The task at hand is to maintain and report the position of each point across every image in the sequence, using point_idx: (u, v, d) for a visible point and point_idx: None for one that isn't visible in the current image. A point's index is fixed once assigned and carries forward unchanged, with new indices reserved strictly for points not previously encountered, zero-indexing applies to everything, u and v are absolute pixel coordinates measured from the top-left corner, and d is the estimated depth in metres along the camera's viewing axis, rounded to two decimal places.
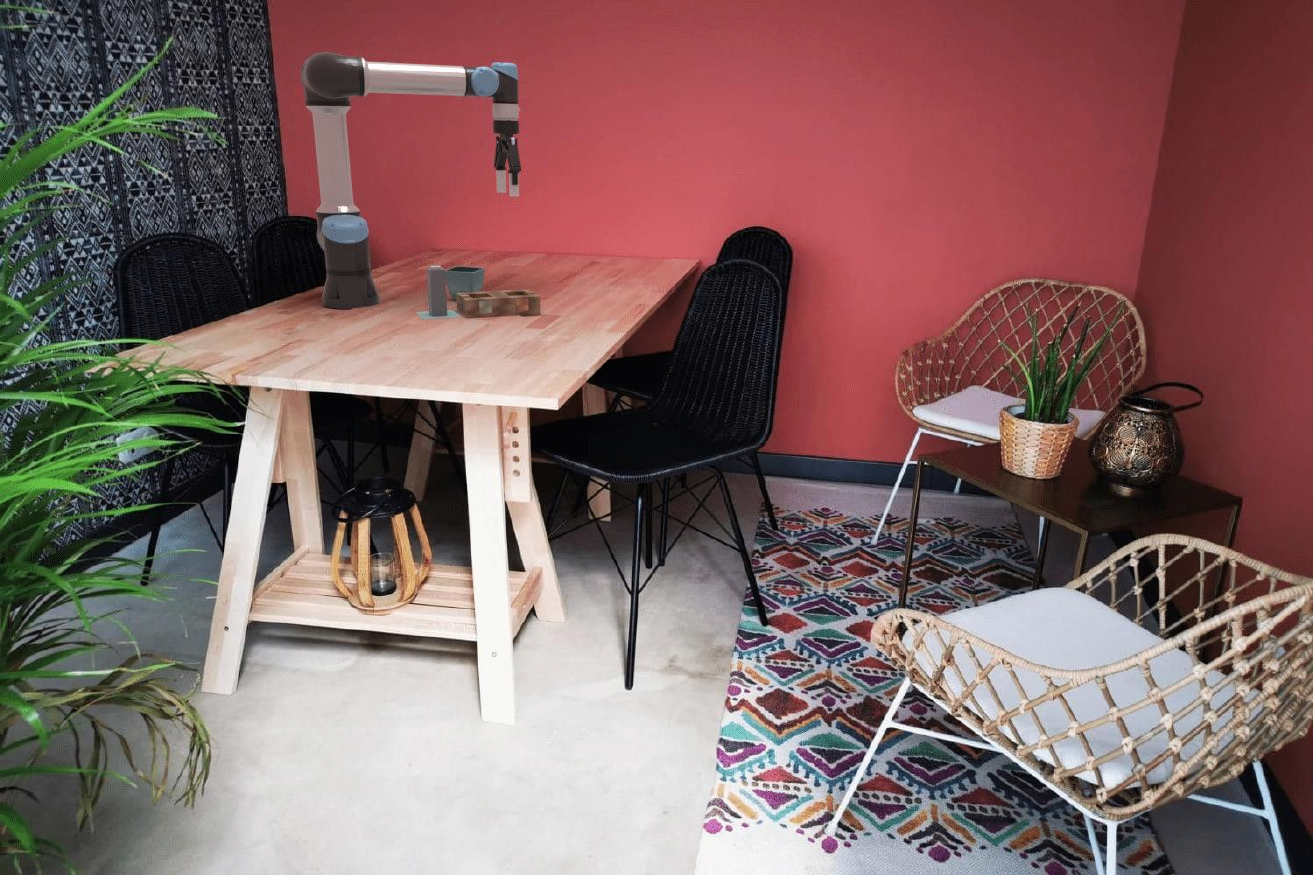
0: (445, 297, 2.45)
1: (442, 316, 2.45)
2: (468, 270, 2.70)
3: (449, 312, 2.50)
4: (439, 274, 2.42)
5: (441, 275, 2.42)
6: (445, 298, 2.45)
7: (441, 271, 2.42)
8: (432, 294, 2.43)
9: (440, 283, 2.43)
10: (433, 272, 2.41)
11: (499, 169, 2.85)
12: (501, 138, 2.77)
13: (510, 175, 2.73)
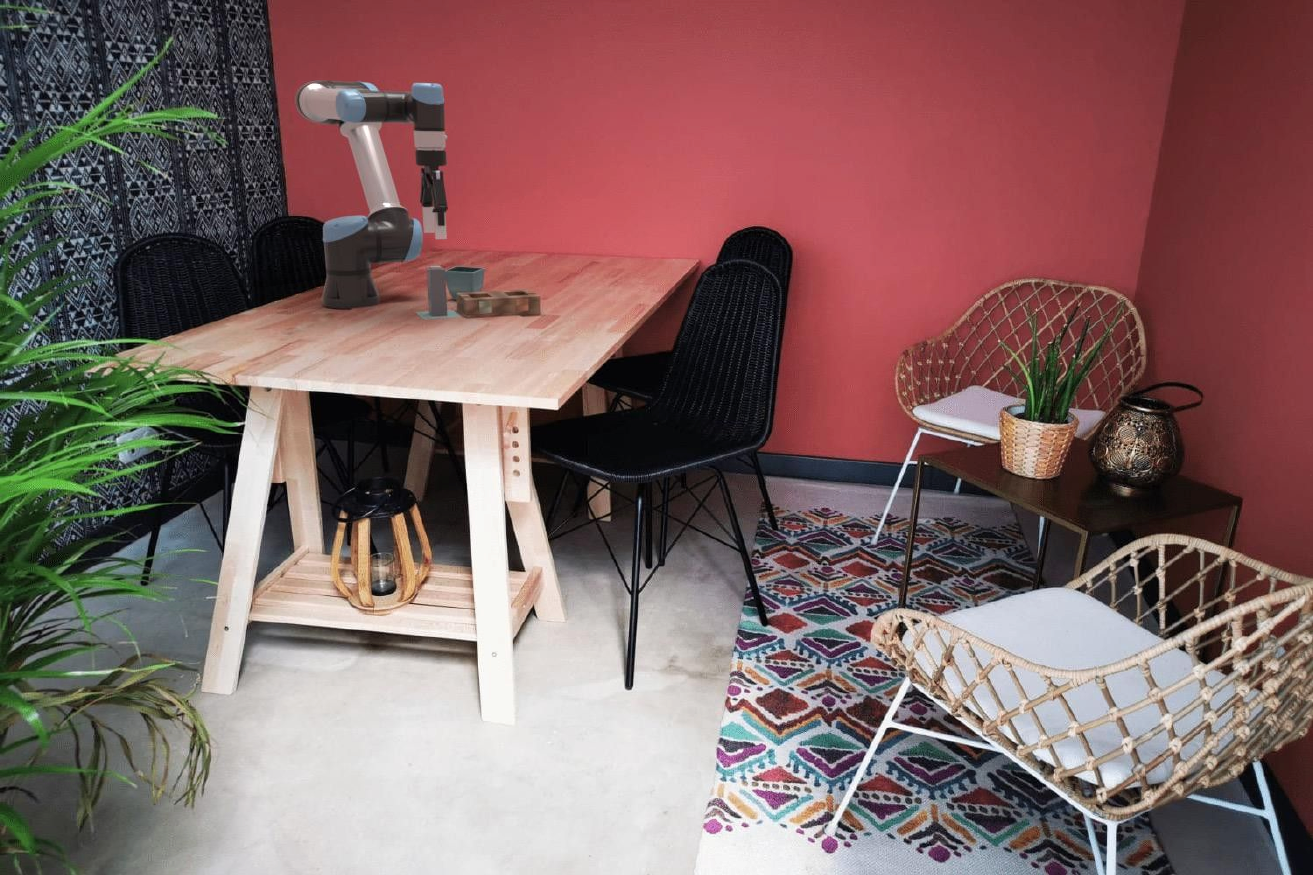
0: (445, 297, 2.45)
1: (442, 316, 2.45)
2: (468, 270, 2.70)
3: (449, 312, 2.50)
4: (439, 274, 2.42)
5: (441, 275, 2.42)
6: (445, 298, 2.45)
7: (441, 271, 2.42)
8: (432, 294, 2.43)
9: (440, 283, 2.43)
10: (433, 272, 2.41)
11: (426, 205, 2.45)
12: (426, 170, 2.36)
13: (435, 214, 2.32)
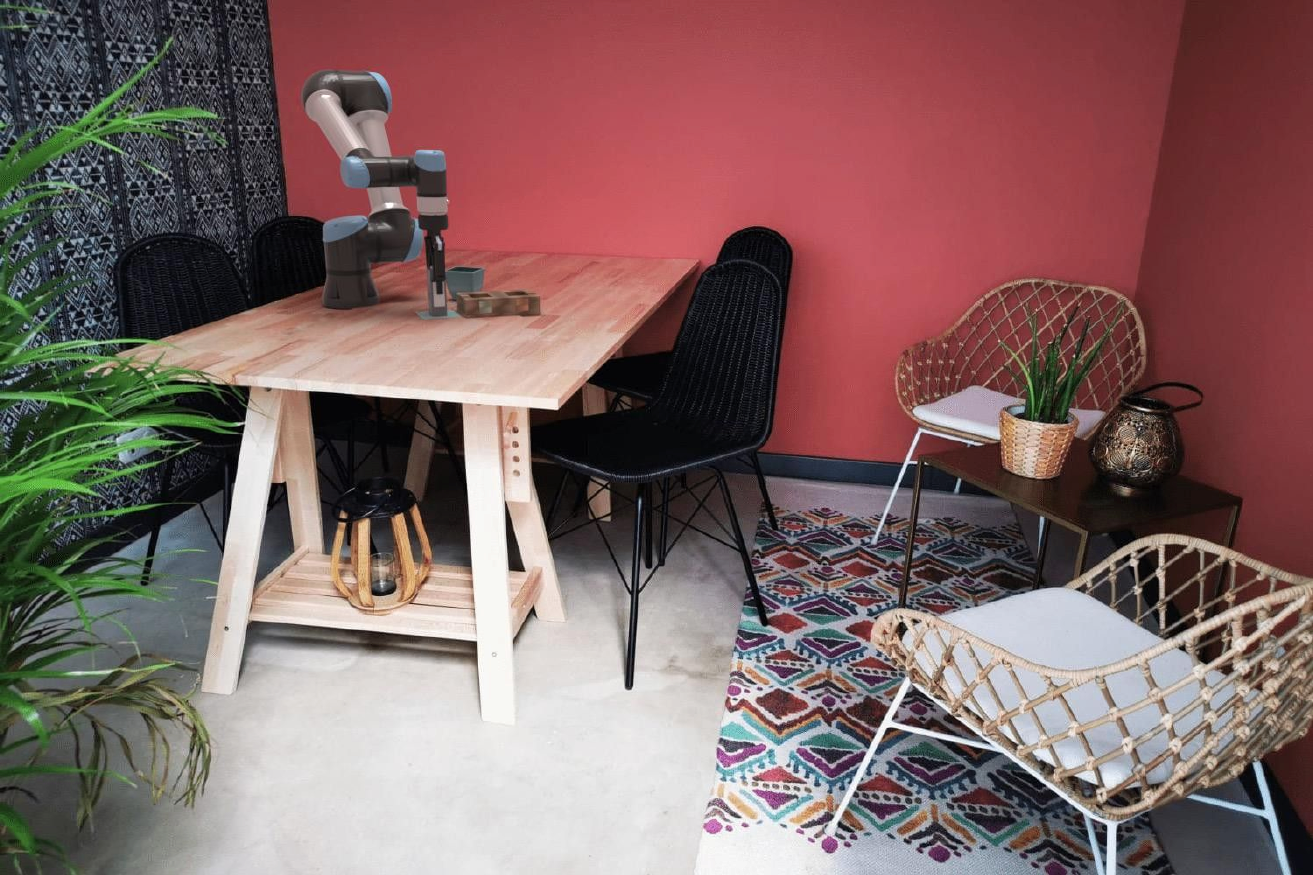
0: (445, 297, 2.45)
1: (442, 316, 2.45)
2: (468, 270, 2.70)
3: (449, 312, 2.50)
4: None
5: None
6: (445, 298, 2.45)
7: None
8: (432, 294, 2.43)
9: None
10: None
11: None
12: (428, 231, 2.41)
13: (434, 283, 2.42)
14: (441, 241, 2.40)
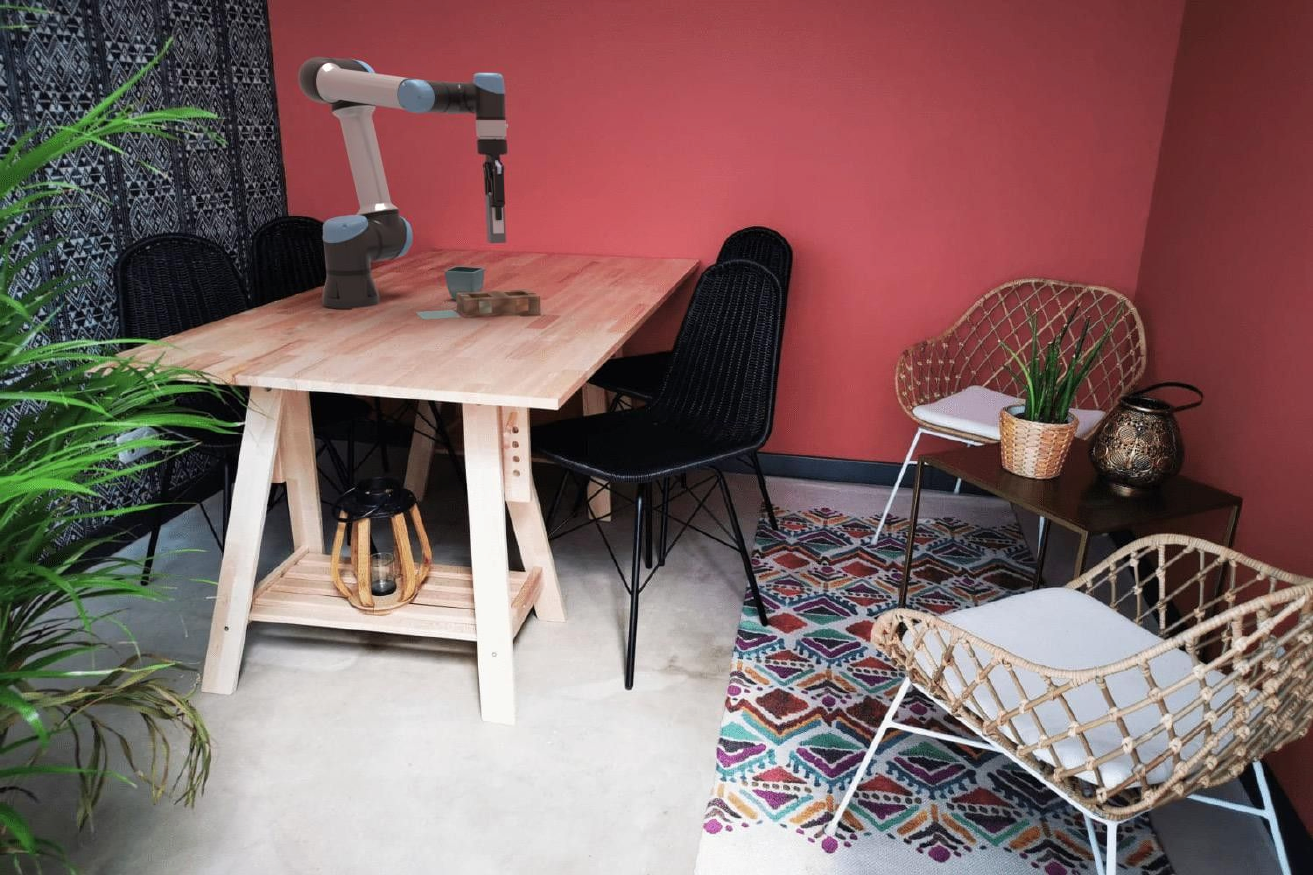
0: (504, 224, 2.44)
1: (442, 316, 2.45)
2: (468, 270, 2.70)
3: (449, 312, 2.50)
4: None
5: None
6: (504, 225, 2.44)
7: None
8: (491, 220, 2.42)
9: None
10: (491, 198, 2.40)
11: None
12: (486, 156, 2.41)
13: (493, 209, 2.41)
14: None
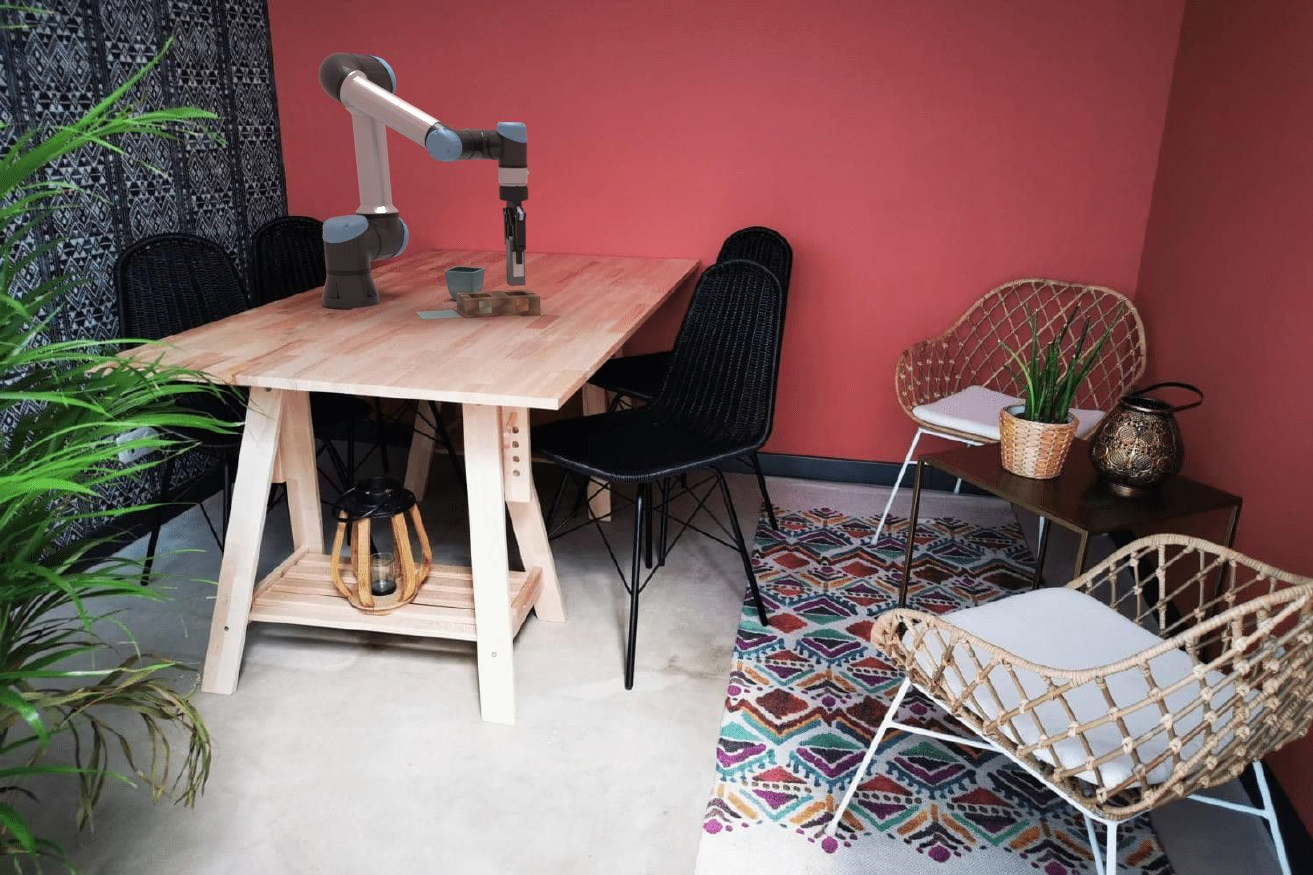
0: (524, 267, 2.50)
1: (442, 316, 2.45)
2: (468, 270, 2.70)
3: (449, 312, 2.50)
4: None
5: None
6: (524, 268, 2.50)
7: None
8: (511, 264, 2.48)
9: None
10: (512, 242, 2.46)
11: None
12: (508, 202, 2.47)
13: (514, 254, 2.47)
14: (521, 212, 2.45)
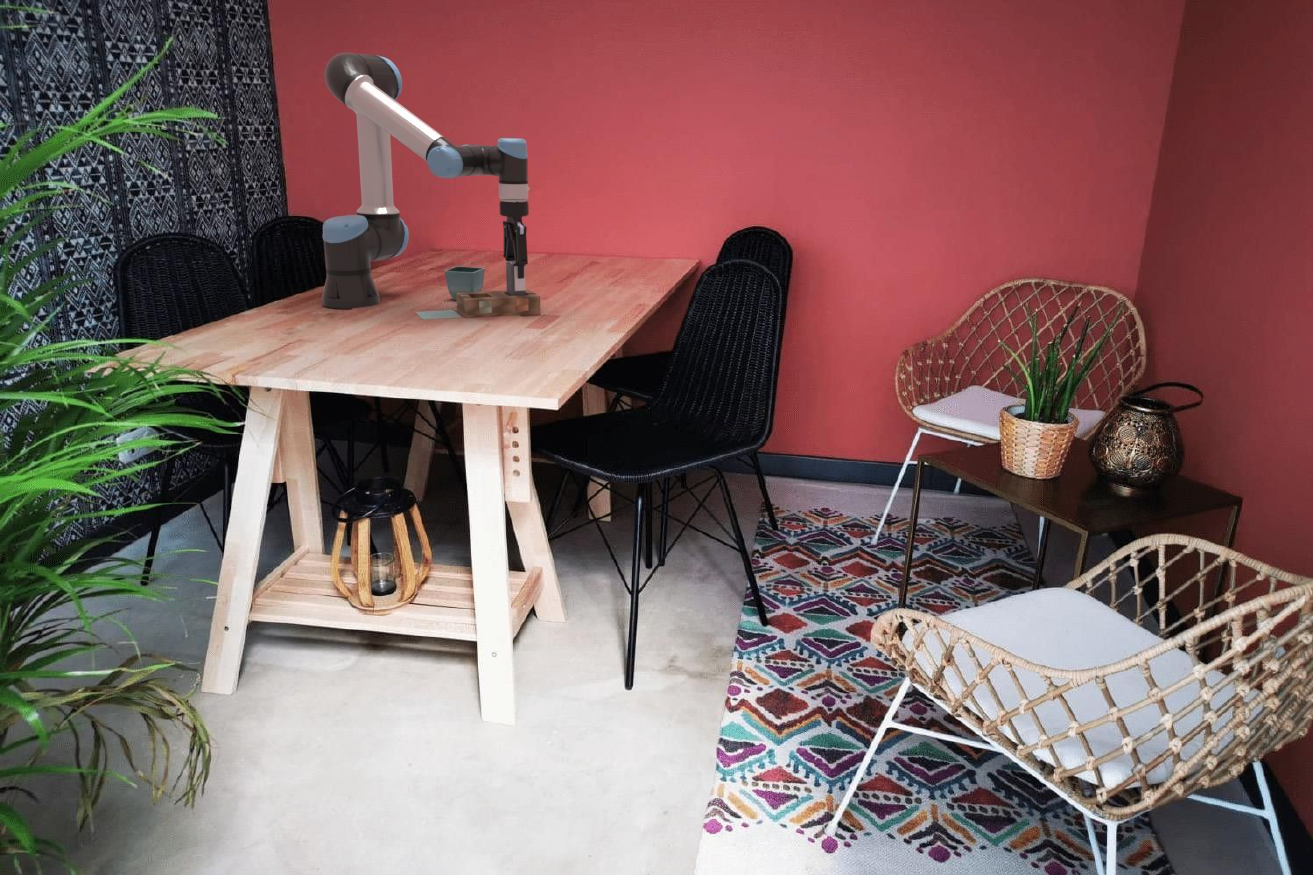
0: (524, 291, 2.52)
1: (442, 316, 2.45)
2: (468, 270, 2.70)
3: (449, 312, 2.50)
4: None
5: None
6: (524, 292, 2.52)
7: None
8: (512, 288, 2.50)
9: None
10: (513, 267, 2.49)
11: (509, 260, 2.54)
12: (508, 218, 2.48)
13: (515, 268, 2.47)
14: None
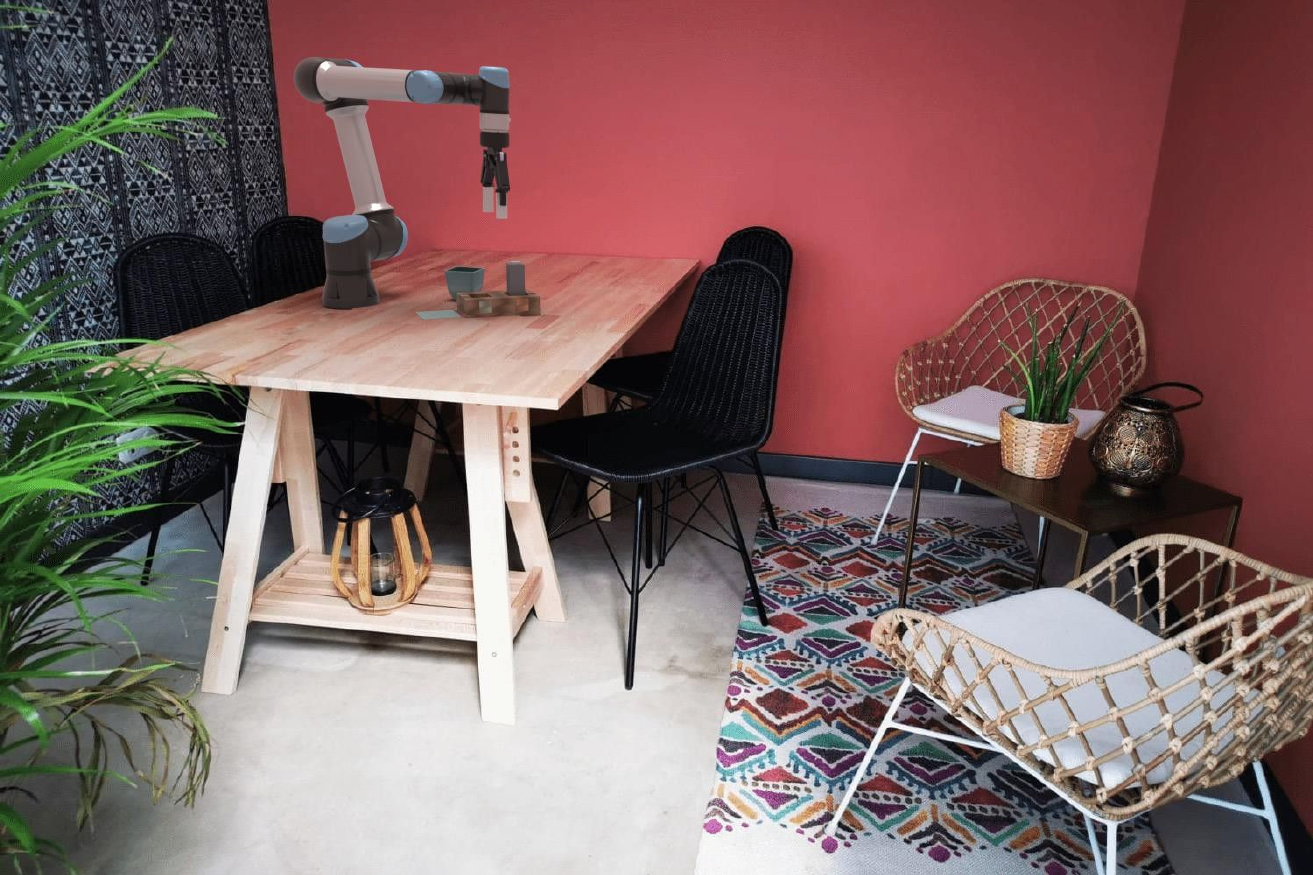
0: (524, 291, 2.52)
1: (442, 316, 2.45)
2: (468, 270, 2.70)
3: (449, 312, 2.50)
4: (519, 268, 2.49)
5: (520, 270, 2.50)
6: (524, 292, 2.52)
7: (521, 266, 2.49)
8: (512, 288, 2.50)
9: (519, 278, 2.50)
10: (513, 267, 2.49)
11: (486, 186, 2.53)
12: (489, 152, 2.44)
13: (497, 195, 2.41)
14: None
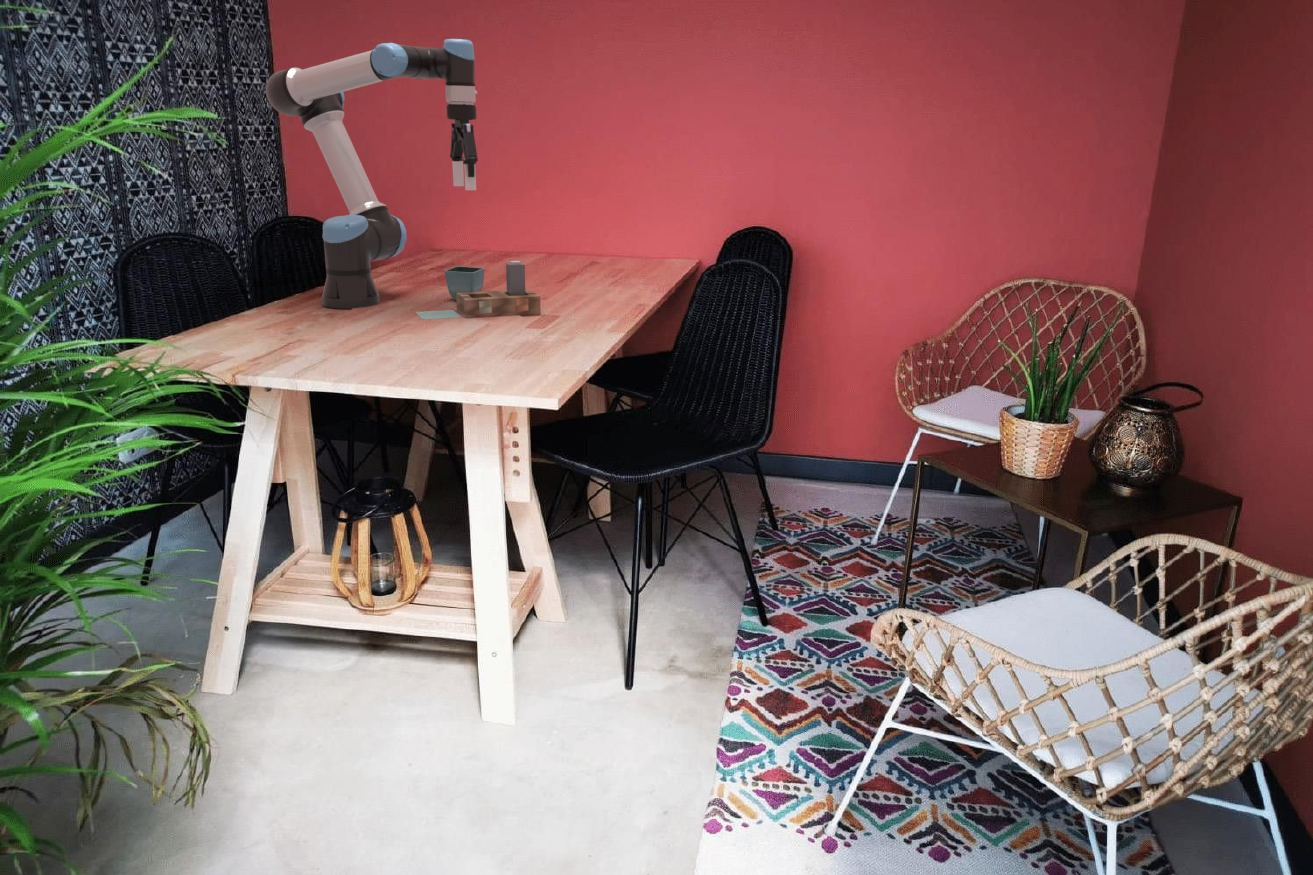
0: (524, 291, 2.52)
1: (442, 316, 2.45)
2: (468, 270, 2.70)
3: (449, 312, 2.50)
4: (519, 268, 2.49)
5: (520, 270, 2.50)
6: (524, 292, 2.52)
7: (521, 266, 2.49)
8: (512, 288, 2.50)
9: (519, 278, 2.50)
10: (513, 267, 2.49)
11: (456, 160, 2.54)
12: (456, 125, 2.46)
13: (466, 166, 2.42)
14: None
